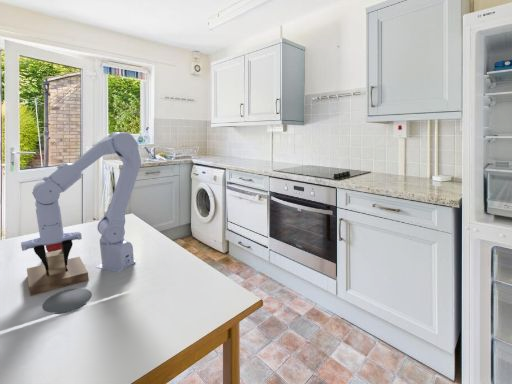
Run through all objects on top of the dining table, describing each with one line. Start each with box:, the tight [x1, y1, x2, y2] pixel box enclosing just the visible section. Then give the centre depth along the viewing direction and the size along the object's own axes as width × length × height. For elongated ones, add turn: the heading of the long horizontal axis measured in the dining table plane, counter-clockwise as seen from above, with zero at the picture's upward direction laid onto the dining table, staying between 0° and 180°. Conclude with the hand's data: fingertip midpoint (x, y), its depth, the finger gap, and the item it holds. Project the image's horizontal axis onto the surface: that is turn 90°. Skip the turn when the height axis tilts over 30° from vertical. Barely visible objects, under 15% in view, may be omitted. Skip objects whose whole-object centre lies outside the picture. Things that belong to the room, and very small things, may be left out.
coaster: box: [42, 287, 93, 315], centre depth 78 cm, size 11×11×1 cm
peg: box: [46, 249, 66, 276], centre depth 89 cm, size 4×4×8 cm
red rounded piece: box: [45, 243, 62, 252], centre depth 106 cm, size 6×6×8 cm
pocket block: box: [26, 256, 90, 297], centre depth 89 cm, size 14×14×3 cm
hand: (56, 266), depth 89 cm, fingers closed on peg, 4 cm apart
